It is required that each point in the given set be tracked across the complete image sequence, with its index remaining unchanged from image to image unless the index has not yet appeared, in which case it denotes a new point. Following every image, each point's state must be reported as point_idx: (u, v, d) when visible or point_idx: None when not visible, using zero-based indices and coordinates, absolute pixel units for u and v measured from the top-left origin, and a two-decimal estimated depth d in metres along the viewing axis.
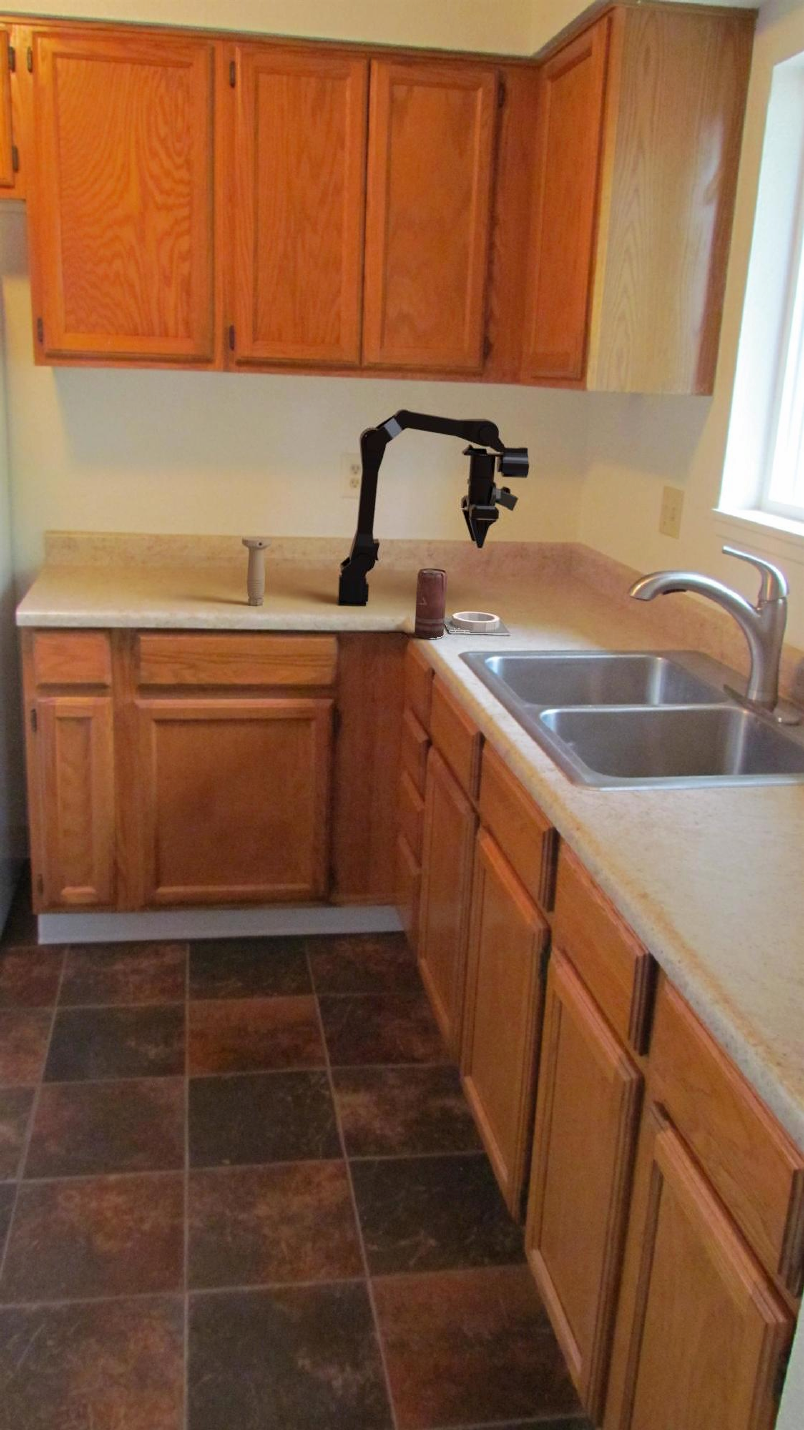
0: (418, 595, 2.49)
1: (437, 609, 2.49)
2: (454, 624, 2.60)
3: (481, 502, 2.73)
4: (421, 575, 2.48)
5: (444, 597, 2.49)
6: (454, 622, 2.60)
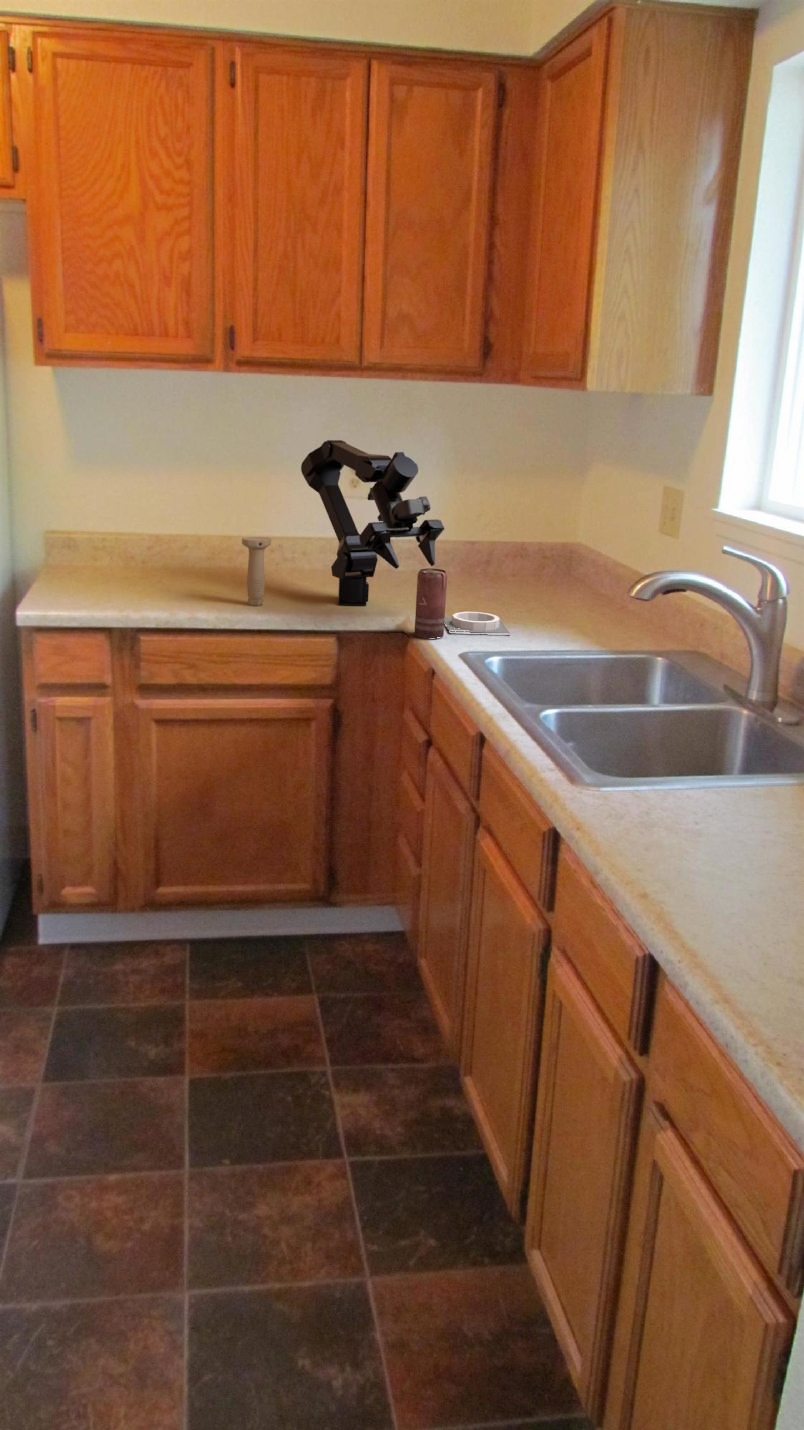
0: (418, 595, 2.49)
1: (437, 609, 2.49)
2: (454, 624, 2.60)
3: (388, 527, 2.58)
4: (421, 575, 2.48)
5: (444, 597, 2.49)
6: (454, 622, 2.60)
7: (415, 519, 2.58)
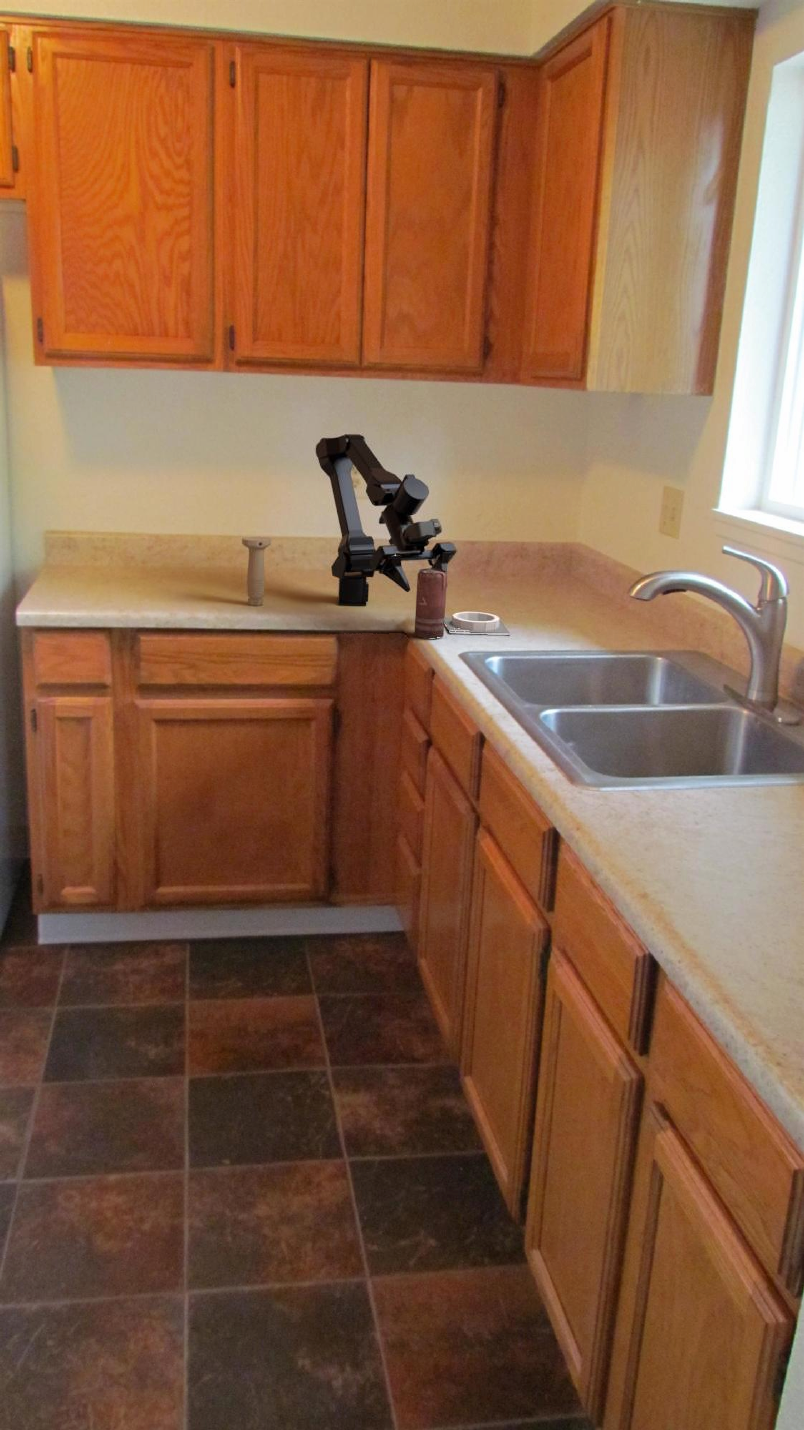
0: (418, 595, 2.49)
1: (437, 609, 2.49)
2: (454, 624, 2.60)
3: (399, 550, 2.54)
4: (421, 575, 2.48)
5: (444, 597, 2.49)
6: (454, 622, 2.60)
7: (427, 542, 2.54)
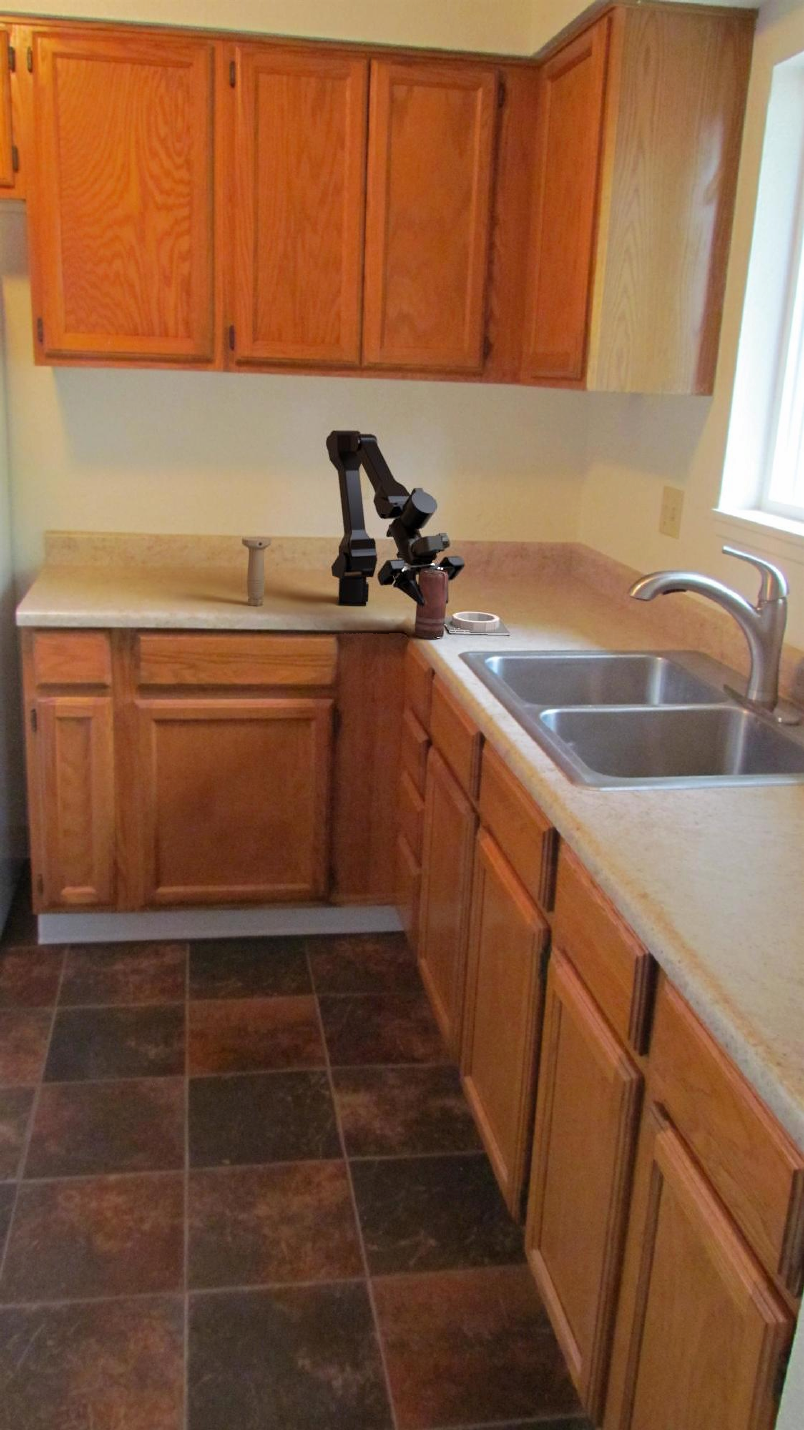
0: None
1: (437, 609, 2.49)
2: (454, 624, 2.60)
3: None
4: (422, 574, 2.48)
5: (445, 597, 2.50)
6: (454, 622, 2.60)
7: (434, 556, 2.52)
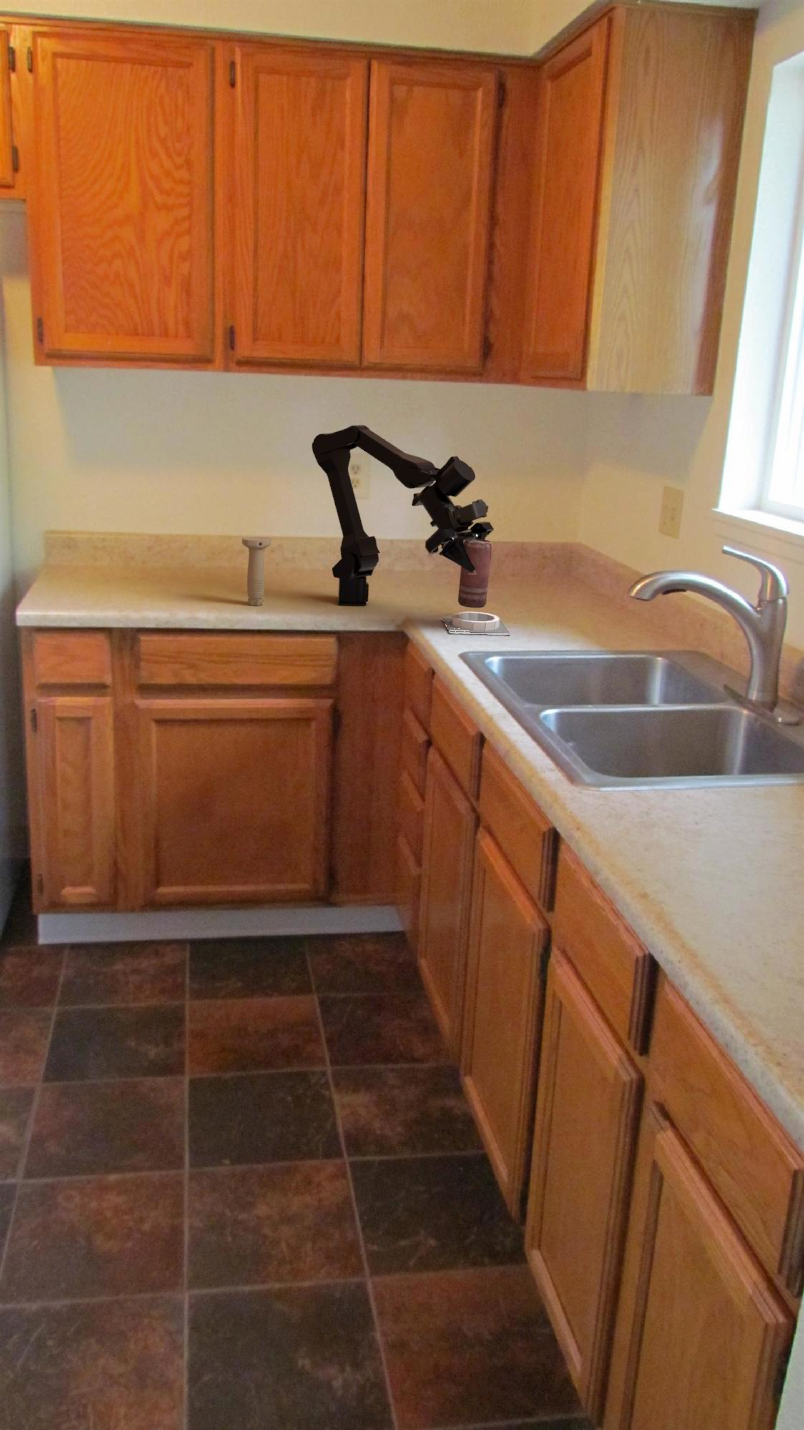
0: None
1: (485, 578, 2.56)
2: (454, 624, 2.60)
3: None
4: (471, 546, 2.54)
5: (489, 566, 2.57)
6: (454, 622, 2.60)
7: (471, 522, 2.58)
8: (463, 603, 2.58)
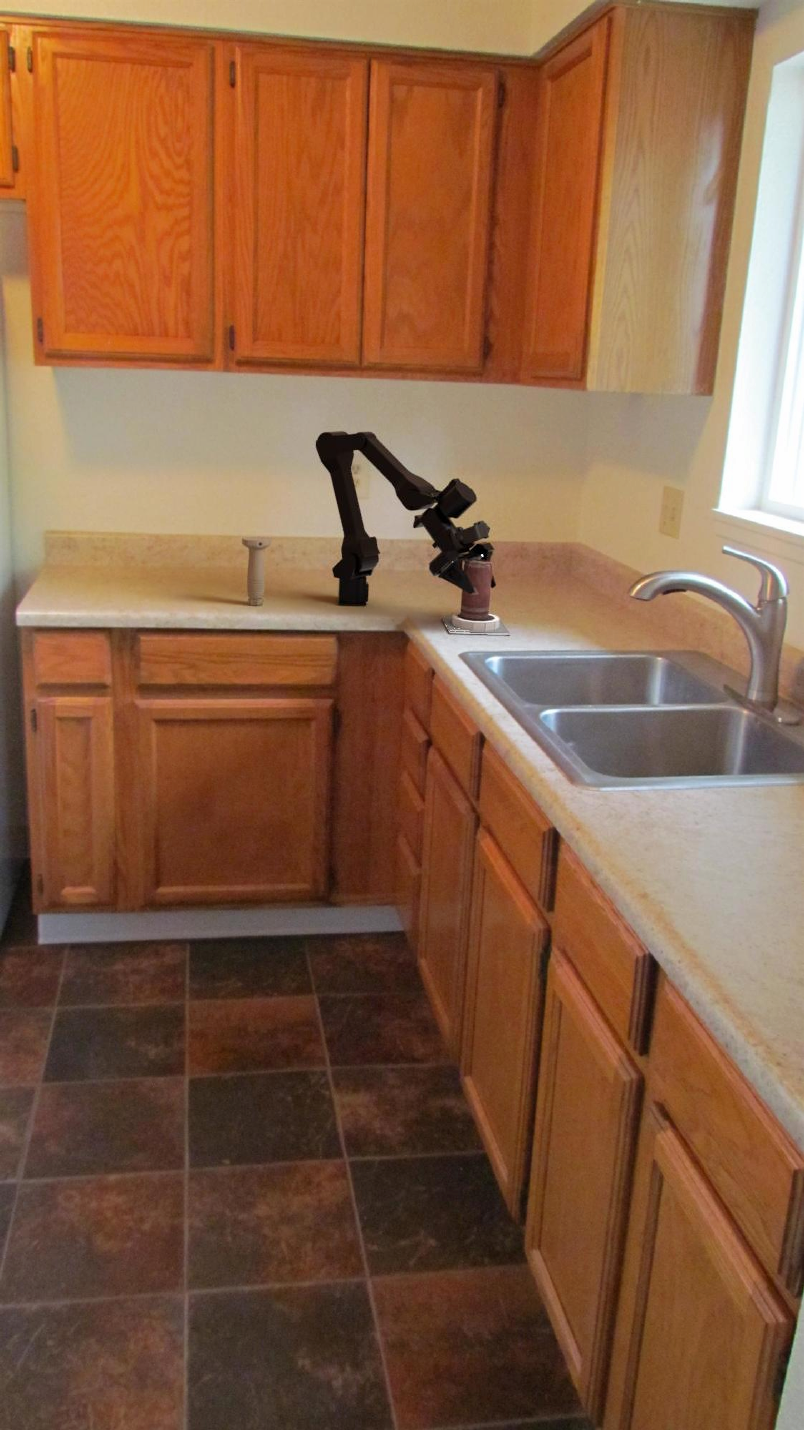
0: None
1: (486, 598, 2.59)
2: (454, 624, 2.60)
3: None
4: (472, 566, 2.56)
5: None
6: (454, 622, 2.60)
7: (473, 543, 2.61)
8: None
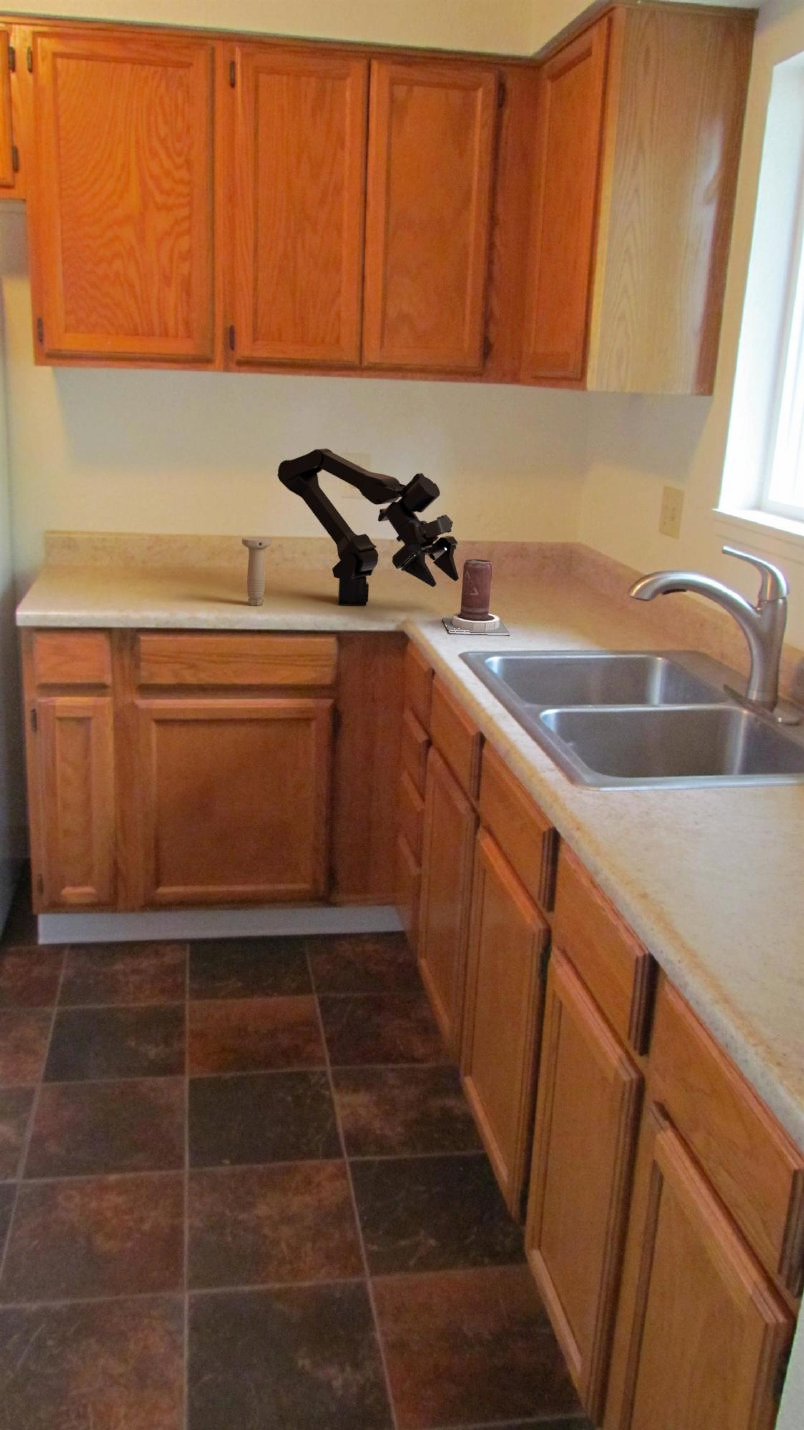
0: (468, 586, 2.58)
1: (486, 598, 2.59)
2: (454, 624, 2.60)
3: None
4: (472, 566, 2.56)
5: (490, 586, 2.60)
6: (454, 622, 2.60)
7: (436, 537, 2.66)
8: None
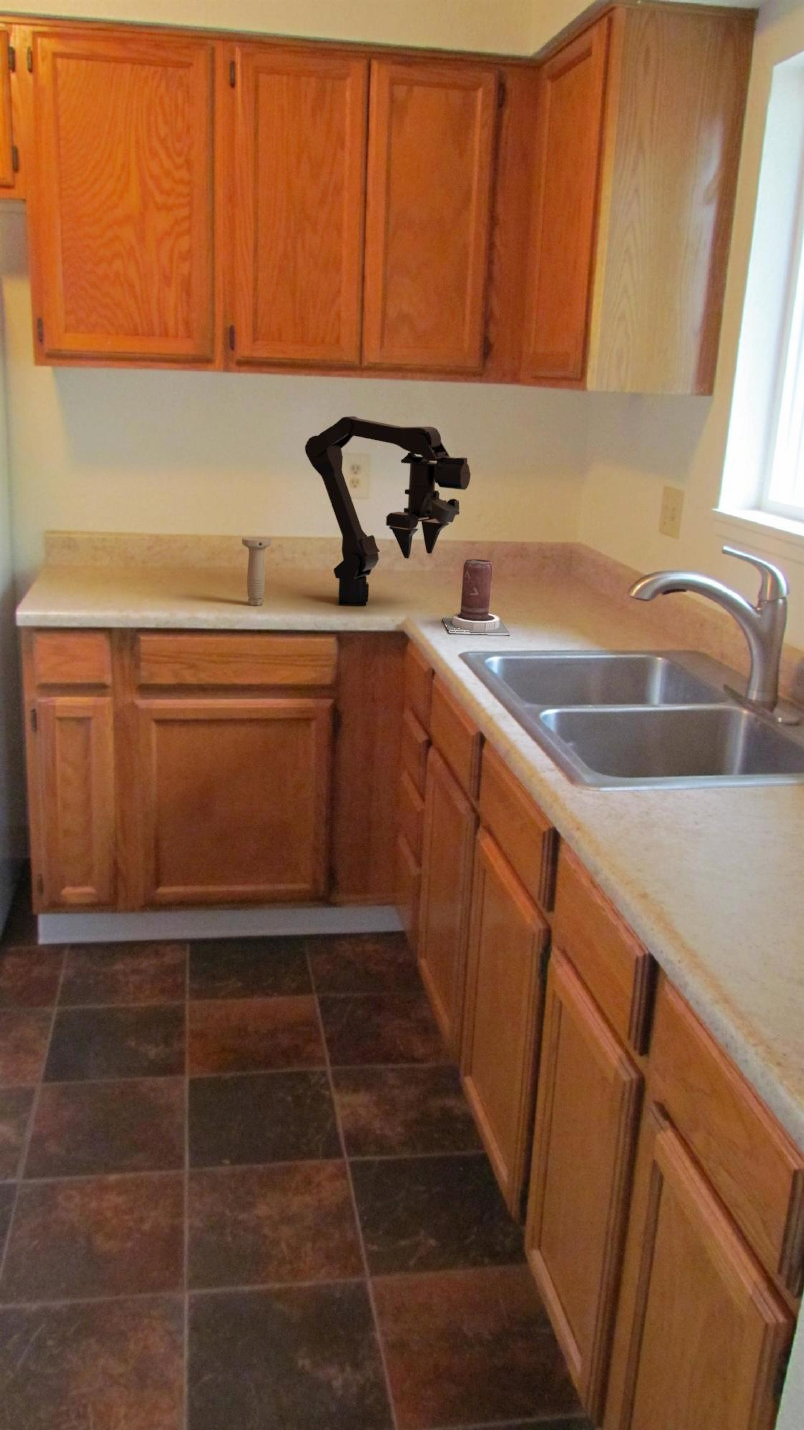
0: (468, 586, 2.58)
1: (486, 598, 2.59)
2: (454, 624, 2.60)
3: (413, 511, 2.65)
4: (472, 566, 2.56)
5: (490, 586, 2.60)
6: (454, 622, 2.60)
7: None
8: None
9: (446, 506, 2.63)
